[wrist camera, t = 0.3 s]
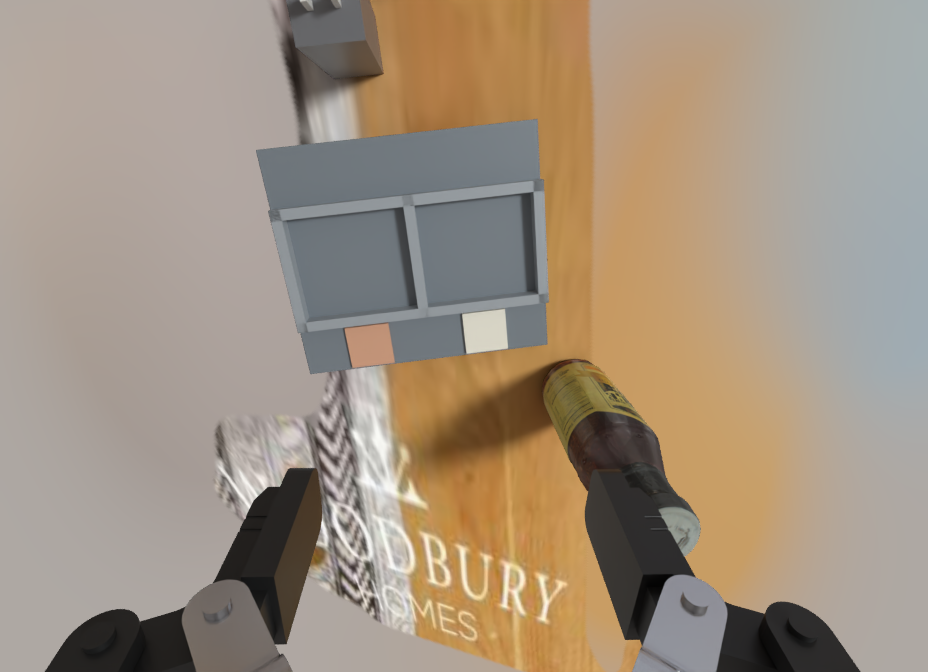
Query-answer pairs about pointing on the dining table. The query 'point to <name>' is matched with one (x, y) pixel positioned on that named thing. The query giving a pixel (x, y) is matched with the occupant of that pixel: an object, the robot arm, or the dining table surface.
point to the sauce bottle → (613, 440)
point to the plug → (337, 36)
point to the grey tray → (412, 243)
